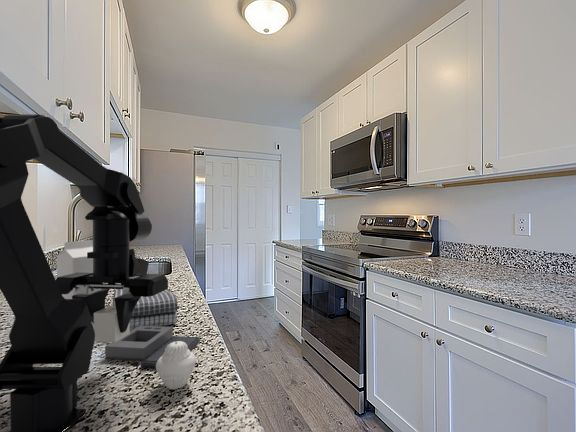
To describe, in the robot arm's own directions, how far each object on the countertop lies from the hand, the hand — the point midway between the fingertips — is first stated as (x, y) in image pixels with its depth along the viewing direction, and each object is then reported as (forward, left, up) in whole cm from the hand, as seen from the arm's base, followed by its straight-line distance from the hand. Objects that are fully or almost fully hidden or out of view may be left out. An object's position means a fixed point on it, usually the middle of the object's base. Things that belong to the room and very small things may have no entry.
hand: (112, 331), depth 55 cm
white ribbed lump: (-4, -14, -7) cm, 16 cm away
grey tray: (+9, 0, -7) cm, 11 cm away
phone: (+7, -8, -7) cm, 12 cm away
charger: (0, 0, -1) cm, 1 cm away
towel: (+25, +10, -7) cm, 28 cm away
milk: (+11, +16, -7) cm, 20 cm away
